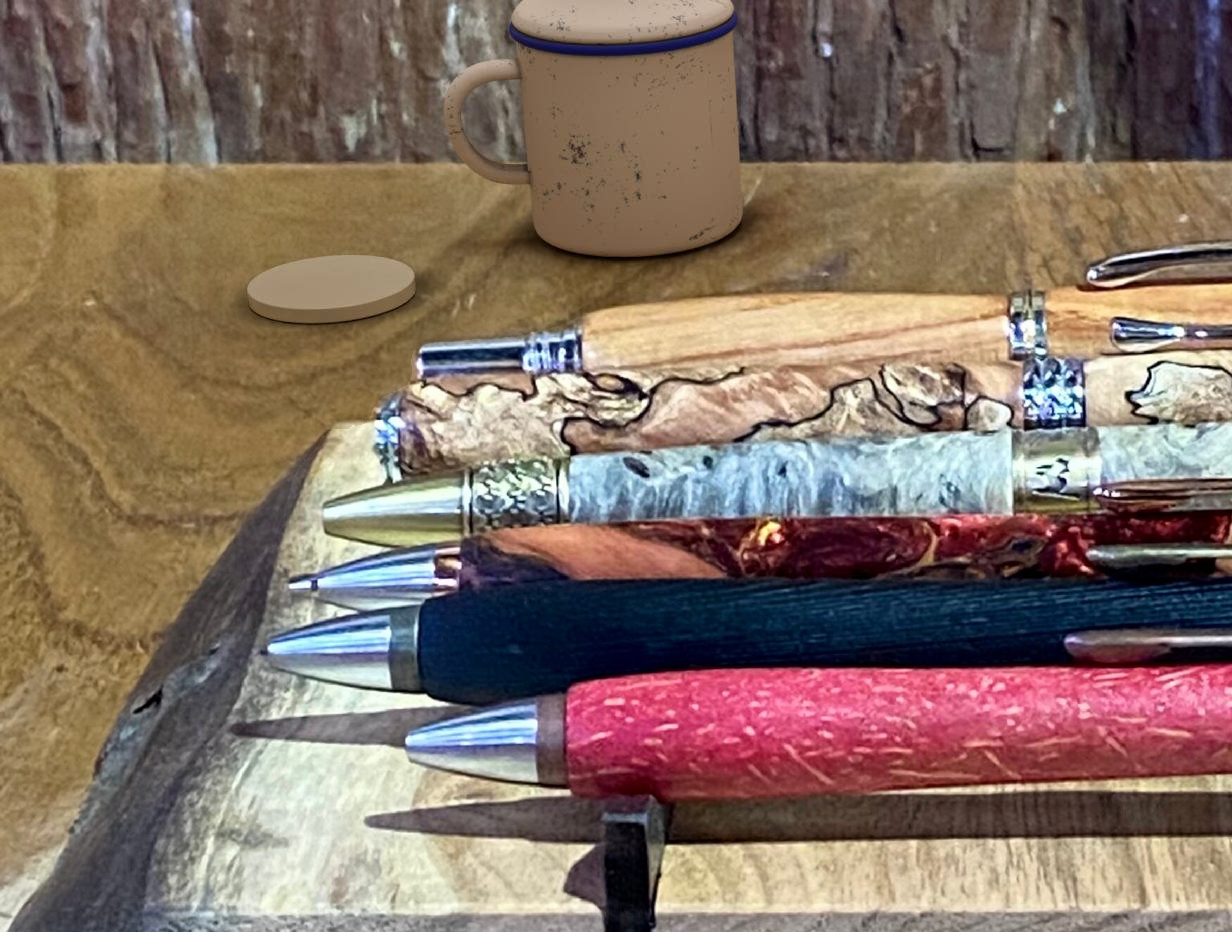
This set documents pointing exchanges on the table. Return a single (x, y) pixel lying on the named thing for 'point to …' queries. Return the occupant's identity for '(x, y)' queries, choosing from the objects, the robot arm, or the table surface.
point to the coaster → (331, 289)
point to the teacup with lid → (619, 123)
